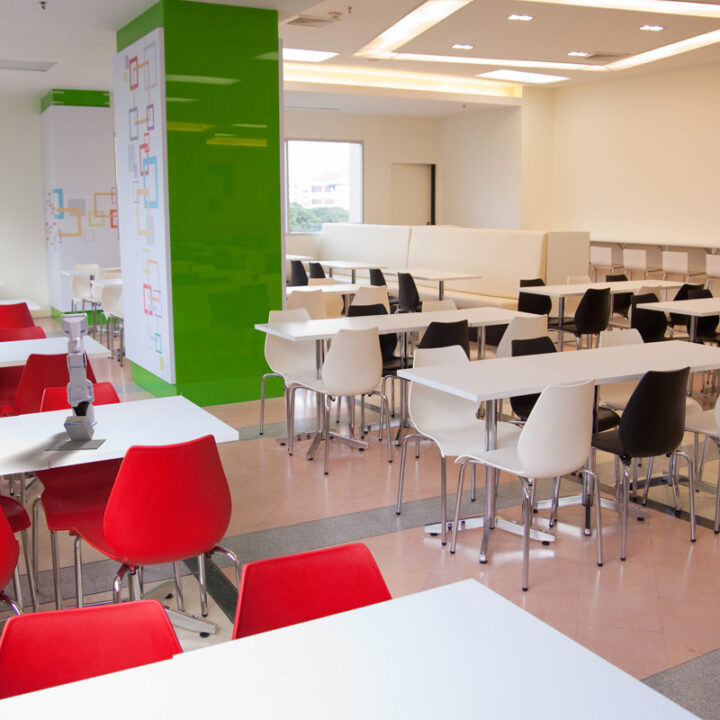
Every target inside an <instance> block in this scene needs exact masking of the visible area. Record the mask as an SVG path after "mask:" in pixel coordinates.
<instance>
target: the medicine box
mask: <svg viewBox="0 0 720 720" xmlns="http://www.w3.org/2000/svg"><path fill="white" fill-rule="evenodd" d="M63 427H64V429H65V431H66V433H67V434H68V437H69V439H70V440H93V436H94V434H95V429H94V427H93V426H92V425H91V423H90V421H89V419H88V416H73V415H72V416H69V415H68V416H66V418H65V421H64V423H63Z"/></svg>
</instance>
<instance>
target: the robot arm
mask: <svg viewBox="0 0 720 720" xmlns="http://www.w3.org/2000/svg"><path fill="white" fill-rule="evenodd" d="M88 319H89V318H88V314H87V313H86V312H83V313H69V314H68V313H67V314H66V313H65V314H63V313H61V314H60V326H61V327H60V328H61V331H62V334H63V335H62V336H65V337H67V338H68V340H69V341H68V342H67V355H66V364H67V371H68V374H69V382H68V383H67V385H66V394H67V403H68V404H69V405H70V406H71V410H72V411H71V412H72V416H88V419H89V421H90V423H91V425H92V427H93V426H95V425H96V424H97V423H98V420H95V408H94V405H93V404H92V403H94V401H95V393H94V392H95V391H94V385H93V383H92V381H91V380H89V379H88V378H87V356H86V355H87V354H86V351H85V343H84V341H83V339H84V336H87V335H88V332H89V322H88Z"/></svg>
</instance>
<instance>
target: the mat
mask: <svg viewBox="0 0 720 720" xmlns="http://www.w3.org/2000/svg"><path fill="white" fill-rule="evenodd" d="M105 440H107V439H106V438H102V439H100V438H99V439H91V440H71V439H70V440H56V441H54V442H53V443H52V444H51V445H49V446H48V447H47V448H45V449H44V451H46V452H49V450H53V451H70V450H69V449H72V450H73V451H76V449H81V450H97V449H98V448H99V447H101V446H102V445H103V444H104V443H105V442H106V441H105ZM104 441H105V442H104ZM72 450H71V451H72Z"/></svg>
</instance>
